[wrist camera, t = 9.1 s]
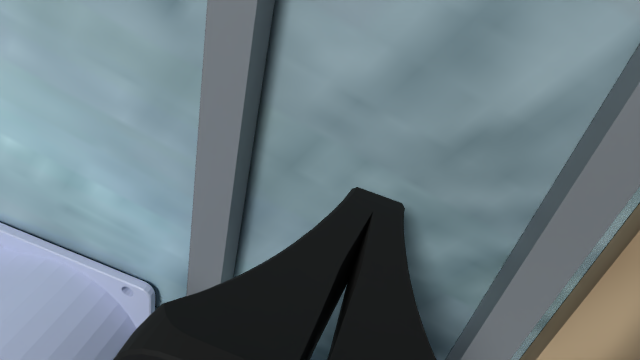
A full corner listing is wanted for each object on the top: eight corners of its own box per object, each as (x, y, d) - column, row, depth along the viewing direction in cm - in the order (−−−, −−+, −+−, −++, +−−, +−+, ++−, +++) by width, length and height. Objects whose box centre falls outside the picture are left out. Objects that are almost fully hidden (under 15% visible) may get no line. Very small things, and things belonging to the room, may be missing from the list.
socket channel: (199, 306, 21) (184, 329, 20) (253, -256, 10) (225, -263, 9) (452, 410, 20) (449, 440, 19) (818, -109, 9) (852, -99, 8)
